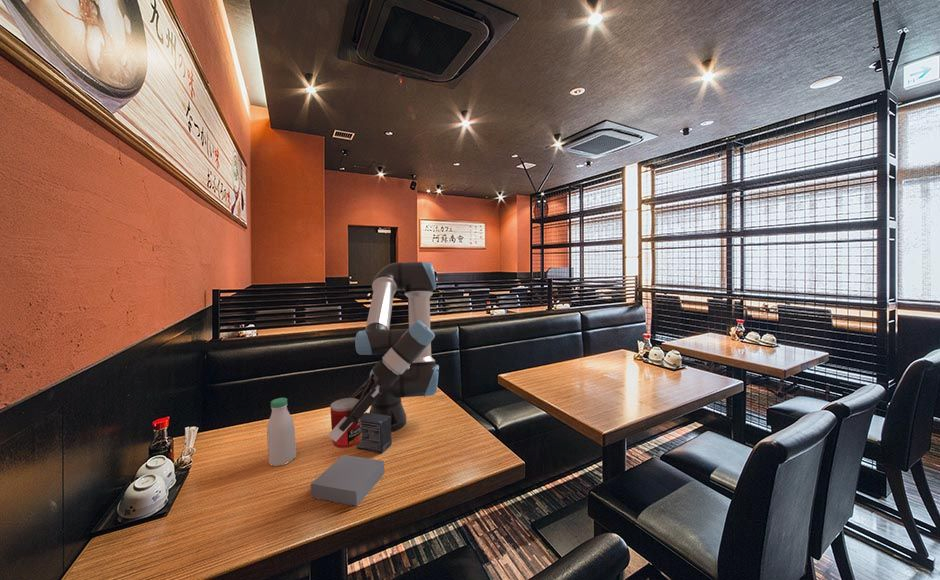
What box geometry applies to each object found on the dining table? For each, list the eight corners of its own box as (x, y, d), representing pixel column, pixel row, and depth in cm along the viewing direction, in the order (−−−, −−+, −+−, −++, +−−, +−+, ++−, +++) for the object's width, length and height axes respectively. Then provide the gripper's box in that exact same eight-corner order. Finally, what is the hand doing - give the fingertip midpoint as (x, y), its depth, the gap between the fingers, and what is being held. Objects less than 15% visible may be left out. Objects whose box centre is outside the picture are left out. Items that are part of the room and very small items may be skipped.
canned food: (353, 449, 89) (350, 409, 89) (326, 447, 91) (323, 408, 90) (367, 435, 97) (365, 398, 96) (342, 433, 98) (340, 397, 98)
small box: (393, 444, 117) (391, 415, 116) (382, 454, 111) (381, 423, 110) (367, 439, 120) (366, 411, 120) (355, 449, 114) (354, 419, 113)
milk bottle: (301, 456, 110) (297, 397, 109) (279, 469, 103) (275, 406, 102) (285, 451, 114) (282, 394, 112) (263, 463, 107) (259, 402, 105)
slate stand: (343, 467, 104) (343, 454, 103) (384, 473, 100) (383, 460, 100) (311, 497, 90) (310, 483, 90) (357, 506, 87) (356, 491, 86)
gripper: (404, 387, 87) (341, 458, 84) (397, 365, 107) (346, 422, 103) (382, 369, 85) (317, 441, 82) (379, 350, 105) (327, 408, 102)
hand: (333, 430), depth 93 cm, fingers closed on canned food, 8 cm apart
